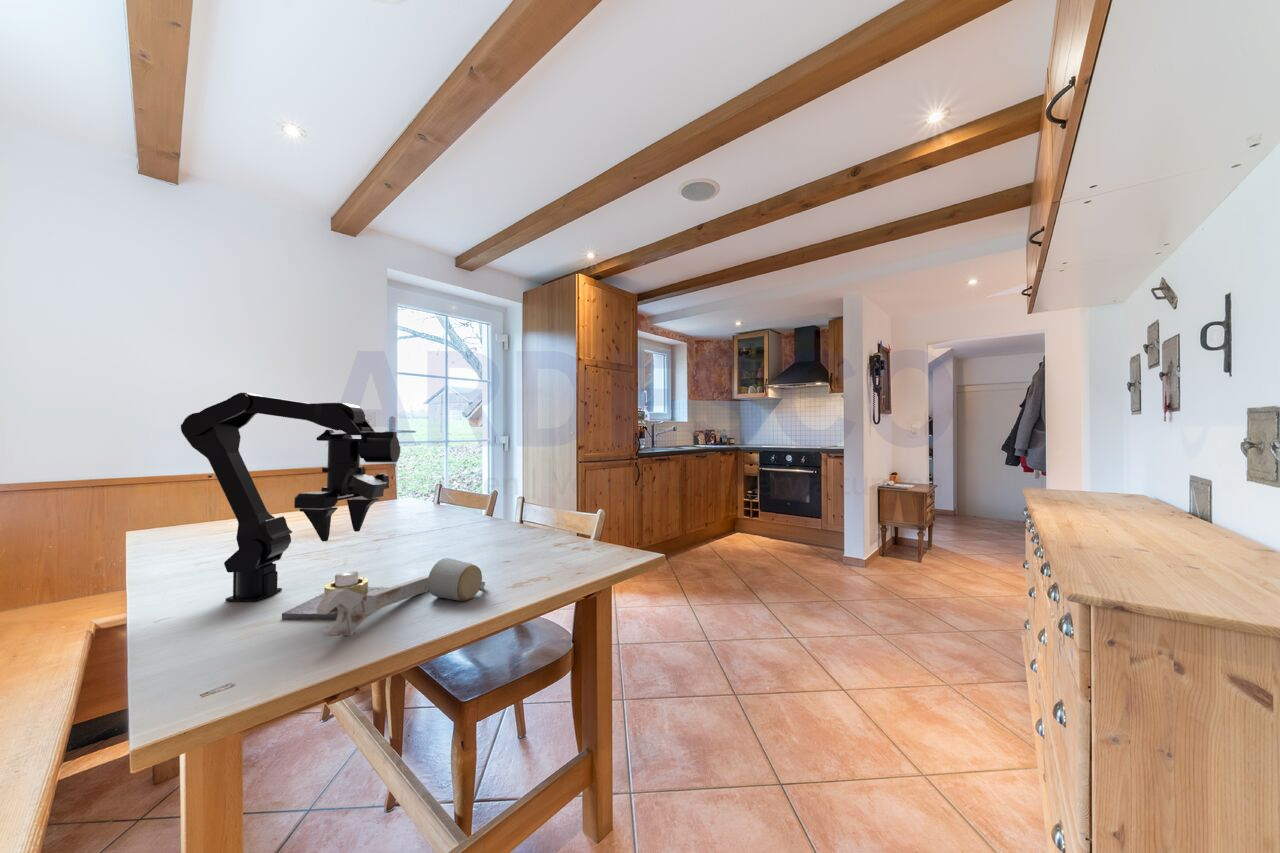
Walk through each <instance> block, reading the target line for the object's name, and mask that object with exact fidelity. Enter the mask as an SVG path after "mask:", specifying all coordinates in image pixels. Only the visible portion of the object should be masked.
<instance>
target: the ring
mask: <svg viewBox="0 0 1280 853" xmlns="http://www.w3.org/2000/svg"><path fill="white" fill-rule="evenodd" d="M368 587H369V578H366V577H364V576H363V577H362V576H361V577H359V576H358V584H357V585H353V586H350V587H342V588H335V580H333V581H331V582H328V583H326V584H325V586H324V589H323V590H324V592H323V593H324V597H325V596H326V595H327V594H328V593H329V592H331V591H333V590H336V589H347V590H351V591H353V592H356V593H359V594H362V595H366V594H368Z"/></svg>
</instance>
